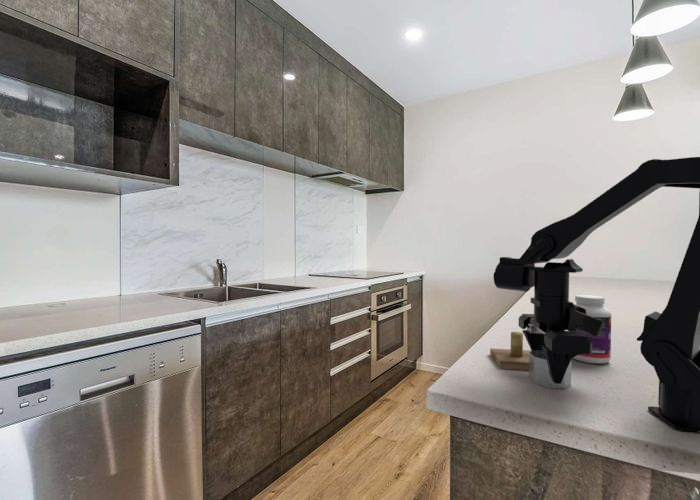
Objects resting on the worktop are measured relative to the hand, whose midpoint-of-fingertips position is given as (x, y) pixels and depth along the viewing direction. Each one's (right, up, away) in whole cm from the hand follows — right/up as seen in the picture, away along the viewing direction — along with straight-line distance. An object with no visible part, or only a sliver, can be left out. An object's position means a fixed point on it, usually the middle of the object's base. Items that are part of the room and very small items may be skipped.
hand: (549, 375), depth 67 cm
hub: (0, -1, 0) cm, 1 cm away
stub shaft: (-1, -1, +10) cm, 10 cm away
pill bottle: (+16, -1, +13) cm, 21 cm away
